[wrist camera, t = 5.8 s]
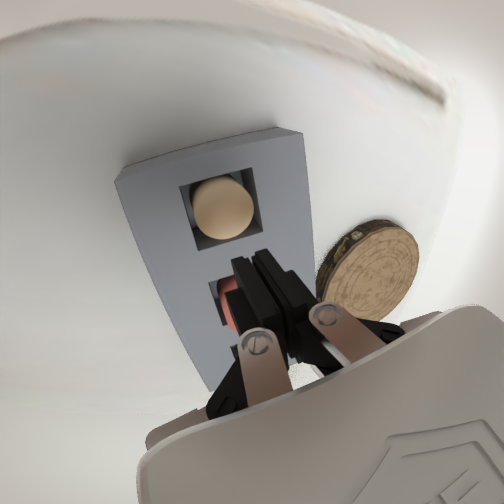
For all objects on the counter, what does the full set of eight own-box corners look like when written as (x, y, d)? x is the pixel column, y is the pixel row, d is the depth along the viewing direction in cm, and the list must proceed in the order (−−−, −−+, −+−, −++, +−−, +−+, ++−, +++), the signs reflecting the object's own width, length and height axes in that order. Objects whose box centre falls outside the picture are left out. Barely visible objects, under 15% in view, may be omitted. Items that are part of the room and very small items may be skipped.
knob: (183, 177, 23) (188, 192, 19) (234, 164, 24) (248, 176, 20) (196, 223, 25) (203, 246, 21) (243, 210, 26) (257, 230, 22)
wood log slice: (308, 330, 39) (317, 345, 36) (317, 228, 31) (331, 240, 28) (392, 302, 42) (403, 312, 40) (414, 212, 34) (429, 220, 32)
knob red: (211, 273, 26) (220, 303, 22) (257, 259, 26) (274, 286, 23) (222, 308, 28) (232, 339, 24) (264, 295, 29) (279, 323, 25)
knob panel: (123, 167, 22) (114, 181, 18) (278, 127, 24) (302, 133, 20) (202, 362, 35) (209, 391, 31) (301, 329, 38) (317, 354, 33)
